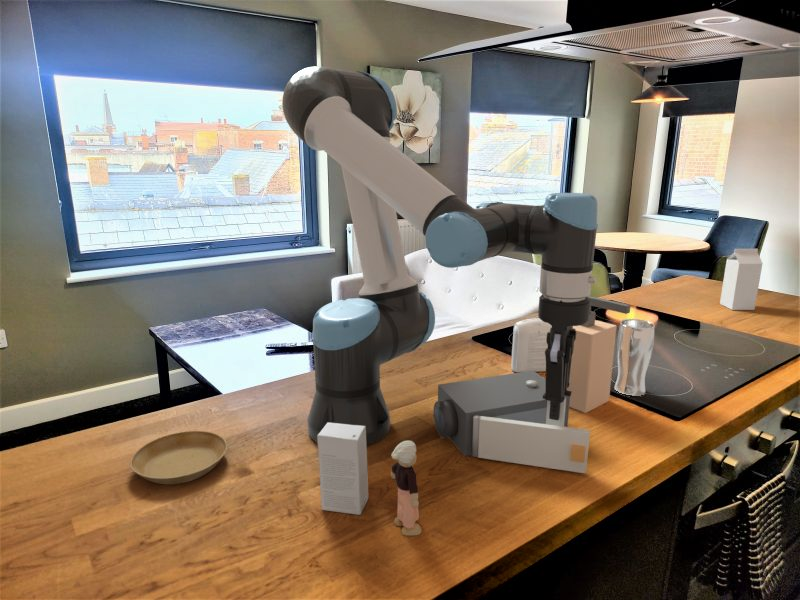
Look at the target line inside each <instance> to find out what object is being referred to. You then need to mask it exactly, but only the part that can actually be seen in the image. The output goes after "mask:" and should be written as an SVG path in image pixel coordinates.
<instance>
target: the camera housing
mask: <svg viewBox="0 0 800 600" xmlns="http://www.w3.org/2000/svg"><path fill="white" fill-rule="evenodd" d="M545 391H546V377H543V376H542V375H540V373H538V372H535V371H526V372H515V373H514V372H512V373H506V374H501V375H494V376H488V377H487V376H486V377H479V378H474V379H473V378H472V379H465V380H459V381H454V382H453V381H452V382H446V383H439V384H437V401H435V402H434V405H433V422H434V426H435V430H436V431H437V433H438V435H439V437H441V438H442V439H446V438H447V439H449V440H450V441H451V440H452V443H453V445H455V446H456V448H457V449H458V450H459V451H460V452H461V454H462V455H463V456H464V457H468V456H472V442H473V417H474V416H485V417H493V418H501V419H509V420H517V421H524V422H532V423H540V424H546V414H547V400H545V399H543V395H544V393H545ZM564 397H566V408H565V420H564V427H569V426H568V423H569V413H570V412H569V411H570V407H569V402H570V396H564Z"/></svg>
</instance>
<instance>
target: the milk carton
mask: <svg viewBox="0 0 800 600" xmlns="http://www.w3.org/2000/svg"><path fill="white" fill-rule="evenodd" d="M762 270H763V261H762V258H761V257H760V255H759V249H758V248H734V251H733V253H732V254H731V255H729V256H728V257H727V258H726V263H725V268H724V273H723V274H724V275H723V282H722V288H721V293H720V300H719V304H720V305H722V306H724V307H725V308H728V309H729V310H731V311H755V309H756V303H757V298H758V292H759V286H760V281H761V274H762Z"/></svg>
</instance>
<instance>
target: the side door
mask: <svg viewBox="0 0 800 600" xmlns="http://www.w3.org/2000/svg"><path fill="white" fill-rule="evenodd" d="M590 430H591V429H585V428H579V427H570V426H567V427H564V426H556V425H548V424H540V423H532V422H524V421H517V420H509V419H501V418H493V417H485V416H474V417H473V442H472V455H471V456H472V457H474V458H479V459H484V460H492V461H498V462H499V461H500V462H506V463H512V464H513V463H514V464H519V465H524V466H525V465H526V466H533V467H541V468H546V469H553V470H554V469H555V470H560V471H561V470H562V471H565V472H574V473H580V474H581V473H582V474H587V468H588V467H587V466H588V456H589V455H588V454H589V447H590V445H589V444H590V434H591V431H590Z"/></svg>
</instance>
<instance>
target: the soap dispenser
mask: <svg viewBox="0 0 800 600" xmlns="http://www.w3.org/2000/svg"><path fill="white" fill-rule="evenodd" d="M588 299H589V300H590V307H589V319H588V321H587V322H586V323H585V324H583V325H579V326H573V328H574V329H576V330H575V331H576V339H575V341H574V349H573V354H572V361H571V369H570V378H569V383H570V384H569V387H568V388H567V391H572V393H571V397H570V402H569V408H571V409H574V410H576V411H579V412H581V413H584V414H586V413H589V412H590V411H592V410H594V409H597V408H598V407H600V406H602V405H604V404H605V403H608V402H609V400H610V395H611V385H612V384H611V383H612V374H613V363H614V355H615V354H614V353H615V348H616V346H615V345H616V336H617V325H616V324H612V323H609V322H604V321H602V320H596V312H595V311H592V307H597V308H600V309H604V310H608V311H609V310H610V311H613V312H617V313H621V314H626V315H628V314H630V313H631V304H627V303H623V302H618V301H614V300H610V299H605V298H600V297H596V296H591V295H589V296H588Z"/></svg>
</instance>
